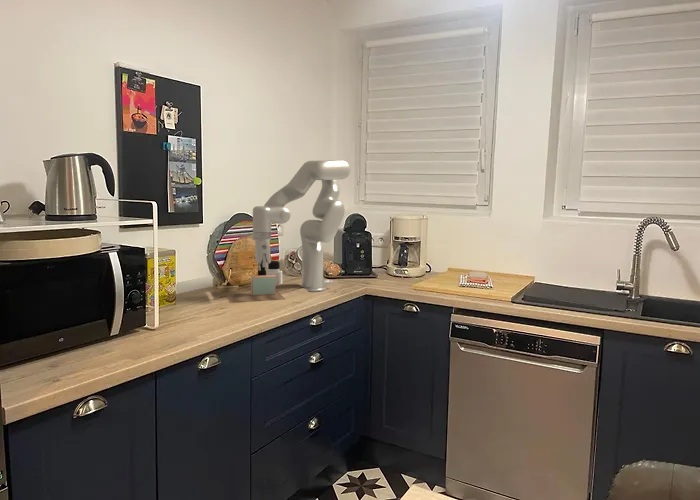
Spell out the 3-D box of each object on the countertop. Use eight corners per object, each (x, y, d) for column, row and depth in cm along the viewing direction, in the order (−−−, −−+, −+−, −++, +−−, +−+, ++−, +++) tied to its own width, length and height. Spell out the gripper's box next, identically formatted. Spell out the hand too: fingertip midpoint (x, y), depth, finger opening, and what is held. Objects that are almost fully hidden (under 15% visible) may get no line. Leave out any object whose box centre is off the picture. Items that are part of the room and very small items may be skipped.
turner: (255, 291, 231) (255, 283, 231) (258, 294, 225) (258, 286, 224) (216, 293, 225) (216, 285, 225) (218, 297, 219) (218, 289, 219)
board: (277, 294, 225) (277, 291, 225) (285, 302, 210) (285, 299, 210) (225, 297, 218) (225, 294, 217) (230, 306, 203) (230, 302, 203)
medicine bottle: (282, 285, 245) (282, 260, 243) (278, 288, 238) (278, 262, 236) (267, 285, 246) (267, 259, 244) (263, 288, 239) (263, 262, 237)
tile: (274, 292, 221) (275, 274, 218) (275, 294, 219) (276, 276, 217) (250, 294, 217) (251, 276, 215) (251, 296, 215) (252, 277, 213)
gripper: (274, 237, 211) (274, 282, 213) (267, 234, 225) (267, 276, 227) (256, 238, 208) (256, 283, 211) (249, 234, 222) (250, 276, 224)
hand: (262, 279), depth 219 cm, fingers closed
